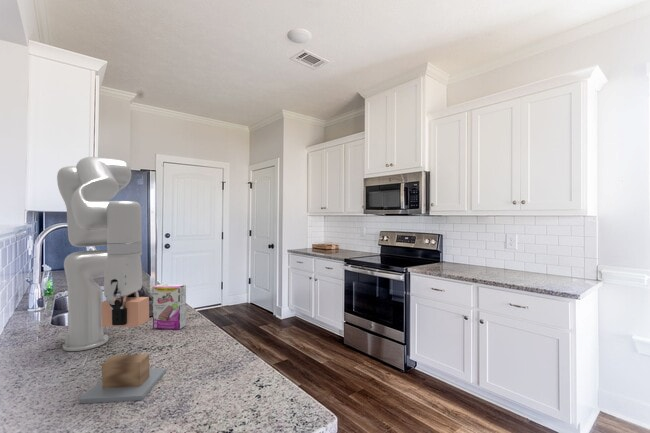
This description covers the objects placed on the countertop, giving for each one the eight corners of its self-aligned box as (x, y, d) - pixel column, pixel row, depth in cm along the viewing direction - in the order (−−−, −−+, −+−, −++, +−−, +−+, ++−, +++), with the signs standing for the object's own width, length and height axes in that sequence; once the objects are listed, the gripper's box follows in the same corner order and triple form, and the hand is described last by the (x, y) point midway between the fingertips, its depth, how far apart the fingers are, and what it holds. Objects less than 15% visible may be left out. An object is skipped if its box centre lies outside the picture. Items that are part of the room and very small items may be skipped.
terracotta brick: (101, 326, 81) (101, 302, 81) (114, 320, 86) (114, 297, 86) (138, 326, 81) (138, 302, 81) (149, 319, 86) (148, 297, 86)
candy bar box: (152, 329, 125) (151, 286, 125) (159, 325, 130) (159, 283, 130) (179, 330, 124) (179, 287, 124) (186, 325, 129) (186, 284, 129)
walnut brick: (102, 388, 81) (101, 363, 81) (113, 378, 86) (113, 355, 86) (140, 386, 81) (140, 362, 81) (149, 376, 86) (149, 353, 86)
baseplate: (79, 403, 76) (79, 399, 76) (113, 374, 90) (113, 370, 90) (142, 400, 77) (142, 395, 77) (166, 371, 91) (166, 368, 91)
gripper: (126, 246, 92) (127, 311, 92) (87, 253, 74) (89, 333, 75) (154, 246, 92) (155, 310, 92) (122, 253, 75) (123, 332, 75)
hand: (125, 320), depth 83 cm, fingers closed on terracotta brick, 5 cm apart
